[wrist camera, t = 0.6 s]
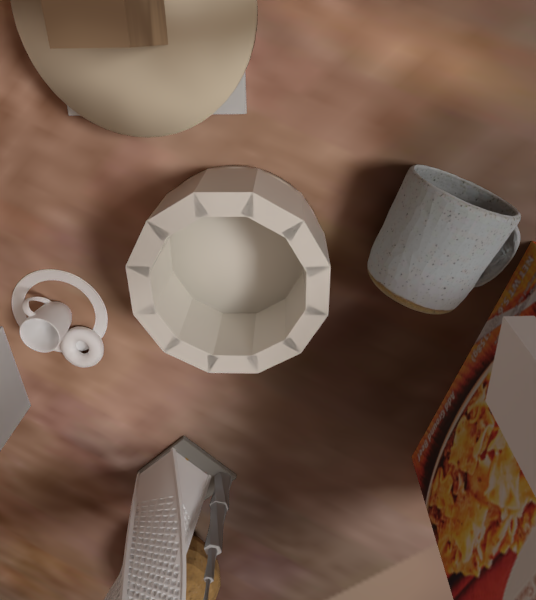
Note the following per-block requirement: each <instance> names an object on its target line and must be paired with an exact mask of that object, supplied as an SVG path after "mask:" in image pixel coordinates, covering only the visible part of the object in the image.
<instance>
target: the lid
mask: <svg viewBox="0 0 536 600" xmlns="http://www.w3.org/2000/svg"><path fill="white" fill-rule="evenodd" d="M10 1H11V7H12V13H13V16H14V20H15V23H16V27H17V30H18V33H19V36H20V38H21V41H22V43H23V46H24V48H25V50H26V52H27V54H28V56H29V58H30V60H31V62H32V63H33V65H34V67H35V68H36V70H37V71H38V73H39V74H40V76H41V77H42V79H43V80H44V81H45V82H46V84H47V85H48V86H49V87H50V89H51V90H52V91H53V92H54V93H55V94H56V95H57V96H58V97H59V98H60V99H61V100H62V101H63V102H64V103H65V104H66V105H67V106H69V107H70V108H71V109H72V110H74V111H75V112H76V113H78V114H79V115H81V116H82V117H84V118H85V119H87V120H89V121H90V122H92V123H94V124H96V125H98V126H100V127H102V128H104V129H107V130H110V131H113V132H116V133H119V134H124V135H129V136H134V137H161V136H167V135H171V134H176V133H179V132H182V131H184V130H187V129H190V128H192V127H193V126H195V125H197V124H199V123H201V122H203V121H204V120H205V119H207V118H208V117H209V116H211V115H212V114H213V113H215V112H216V111H217V110H218V109H219V108H220V107H221V106H222V105H223V104H224V103H225V101H226V100H227V99H228V98H229V97H230V95H231V94H232V93H233V91H234V90H235V89H236V87H237V86H238V84H239V82H240V80H241V79H242V77H243V75H244V73H245V70H246V68H247V66H248V63H249V61H250V58H251V54H252V51H253V47H254V43H255V37H256V30H257V16H258V5H257V0H10Z"/></svg>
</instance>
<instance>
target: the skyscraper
mask: <svg viewBox="0 0 536 600" xmlns="http://www.w3.org/2000/svg"><path fill="white" fill-rule="evenodd" d="M236 476H237V475H236V474H235V473H233V472H232V471H231V470H229V469H228V468H227V467H225V466H224V465H223V464H221V463H220V462H219V461H217V460H216V459H215V458H213V457H212V456H211V455H209V454H208V453H207V452H205V451H204V450H203V449H201V448H200V447H199V446H197V445H196V444H195V443H193V442H192V441H191V440H189V439H188V438H187V437H185V436H183V437H182V438H180V439H179V440H178V441H177V442H175V443H174V444H173V445H171V446H170V447H169V448H168V449H166V450H165V451H164V452H162V453H161V454H160V455H159V456H157V457H156V458H155V459H153V460H152V461H151V462H149V463H148V464H147V465H146V466H144V467H143V468H142V469H140V470H139V471H138V473H137V477H136V482H135V487H134V493H133V498H132V504H131V510H130V516H129V522H128V528H127V535H126V543H125V551H124V559H123V565H122V568H121V571H120V573H119V576H118V577H117V579H116V581H115V582H114V584H113V585H112V587H111V589H110V590H109V592H108V593H107V595H106V597H105V599H104V600H186V554H187V551H188V548H189V545H190V542H191V539H192V536H193V533H194V530H195V527H196V524H197V521H198V518H199V515H200V512H201V508H202V505H203V502H204V500H206V499H207V498H209V497H210V496H211V495H213V496H212V499H211V502H210V505H209V506H210V508H211V518H210V526H209V530H208V534H207V538H206V542H205V546H204V550H205V552H206V554H207V555H208V560H207V566H206V570H205V574H204V581H205V582H206V588H205V594H204V599H203V600H208V595H209V587H210V583H211V582H213V581H214V569H215V560H216V556H217V555H218V554H220V553H221V552H222V541H223V525H224V520H225V516H226V512H227V511H228V510H229V489H230V486H231V483H232V481H233V480H235V479H236Z"/></svg>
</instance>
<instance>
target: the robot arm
mask: <svg viewBox="0 0 536 600" xmlns="http://www.w3.org/2000/svg"><path fill="white" fill-rule="evenodd" d="M485 401H486V403H487V405H488V407H489V409H490V410H491V412H492V414H493V416H494V418H495V420H496V422H497V424H498V426H499V428H500V430H501V432H502V434H503V435H504V437H505V439H506V441H507V443H508V445H509V447H510V449H511V451H512V453H513V455H514V457H515V459H516V461H517V462H518V464H519V466H520V468H521V470H522V472H523V474H524V476H525V478H526V480H527V482H528V484H529V486H530V488H531V489H532V491H533V493H534V495H535V497H536V317H535V316H503V320H502V325H501V329H500V334H499V339H498V343H497V348H496V353H495V358H494V362H493V367H492V372H491V376H490V381H489V386H488V391H487V395H486V400H485ZM30 406H31V405H30V402H29V399H28V396H27V393H26V391H25V388H24V385H23V382H22V379H21V377H20V374H19V371H18V368H17V365H16V363H15V360H14V357H13V354H12V351H11V349H10V346H9V343H8V340H7V337H6V335H5V332H4V329H3V326H0V451H1V449H2V448H3V446H4V445H5V443H6V442H7V440H8V439H9V437H10V436H11V434H12V433H13V431H14V430H15V428H16V427H17V425H18V424H19V422H20V421H21V420H22V418H23V417H24V415H25V414H26V412H27V411H28V409H29V408H30Z"/></svg>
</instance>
